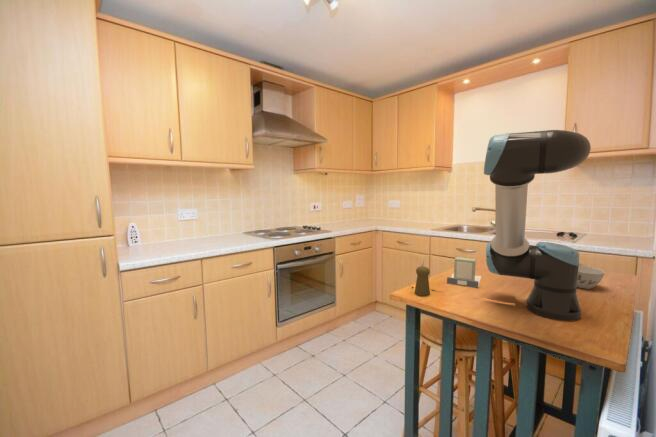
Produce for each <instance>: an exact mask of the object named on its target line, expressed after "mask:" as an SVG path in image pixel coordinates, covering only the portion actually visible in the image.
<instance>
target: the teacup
mask: <svg viewBox="0 0 656 437" xmlns="http://www.w3.org/2000/svg"><path fill="white" fill-rule="evenodd" d="M604 275H605V271H604V270H603V269H600V268H597V267H592V266H588V265H582V264H581V265H579V267H578V278H577V288H579V289H585V290H589V289H591V290H592V289H593V288H594V287H596V286H597V285H599V284H600V283H601V281H602V280H603V279H604Z"/></svg>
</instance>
